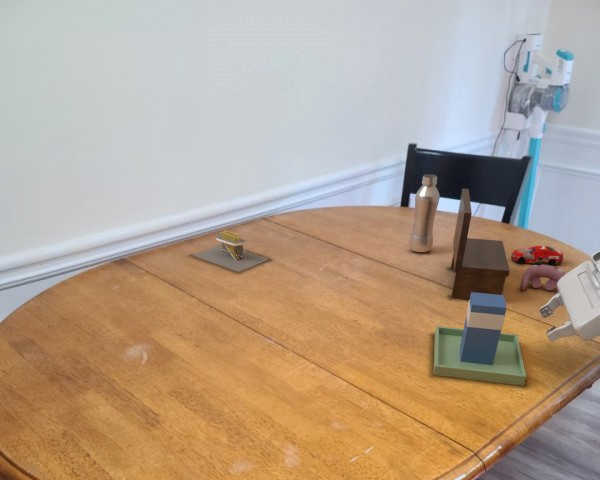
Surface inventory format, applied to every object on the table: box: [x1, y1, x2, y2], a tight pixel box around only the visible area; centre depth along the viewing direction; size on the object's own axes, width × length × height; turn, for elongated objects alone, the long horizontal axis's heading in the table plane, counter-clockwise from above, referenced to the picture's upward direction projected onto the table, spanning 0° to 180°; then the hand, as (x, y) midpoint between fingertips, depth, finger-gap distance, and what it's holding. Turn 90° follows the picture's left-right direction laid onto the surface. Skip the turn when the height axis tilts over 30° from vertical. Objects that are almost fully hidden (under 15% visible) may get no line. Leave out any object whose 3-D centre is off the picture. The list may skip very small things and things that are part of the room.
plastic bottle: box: [408, 174, 441, 253], centre depth 152 cm, size 6×7×20 cm
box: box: [460, 292, 508, 365], centre depth 107 cm, size 6×6×12 cm
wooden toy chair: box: [450, 188, 511, 301], centre depth 134 cm, size 12×20×20 cm, turn 168°
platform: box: [192, 229, 270, 273], centre depth 151 cm, size 12×18×7 cm, turn 50°
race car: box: [510, 245, 564, 266], centre depth 151 cm, size 13×5×4 cm, turn 80°
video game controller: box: [520, 264, 566, 294], centre depth 136 cm, size 10×5×7 cm, turn 65°
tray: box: [433, 325, 527, 386], centre depth 110 cm, size 16×16×2 cm
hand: (544, 325), depth 104 cm, fingers open, 8 cm apart
